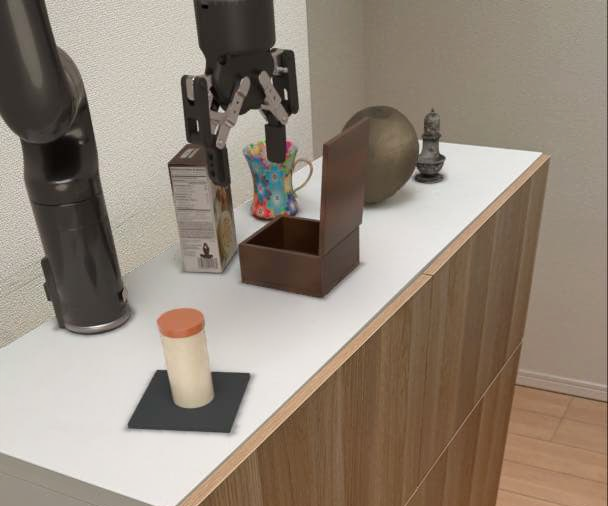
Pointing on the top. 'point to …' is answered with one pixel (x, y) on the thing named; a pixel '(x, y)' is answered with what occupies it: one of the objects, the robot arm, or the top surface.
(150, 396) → the mat
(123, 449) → the top surface
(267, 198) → the mug
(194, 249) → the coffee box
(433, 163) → the salt shaker
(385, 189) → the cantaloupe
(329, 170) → the lid
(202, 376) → the canister
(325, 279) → the chest
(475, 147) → the top surface
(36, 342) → the top surface
